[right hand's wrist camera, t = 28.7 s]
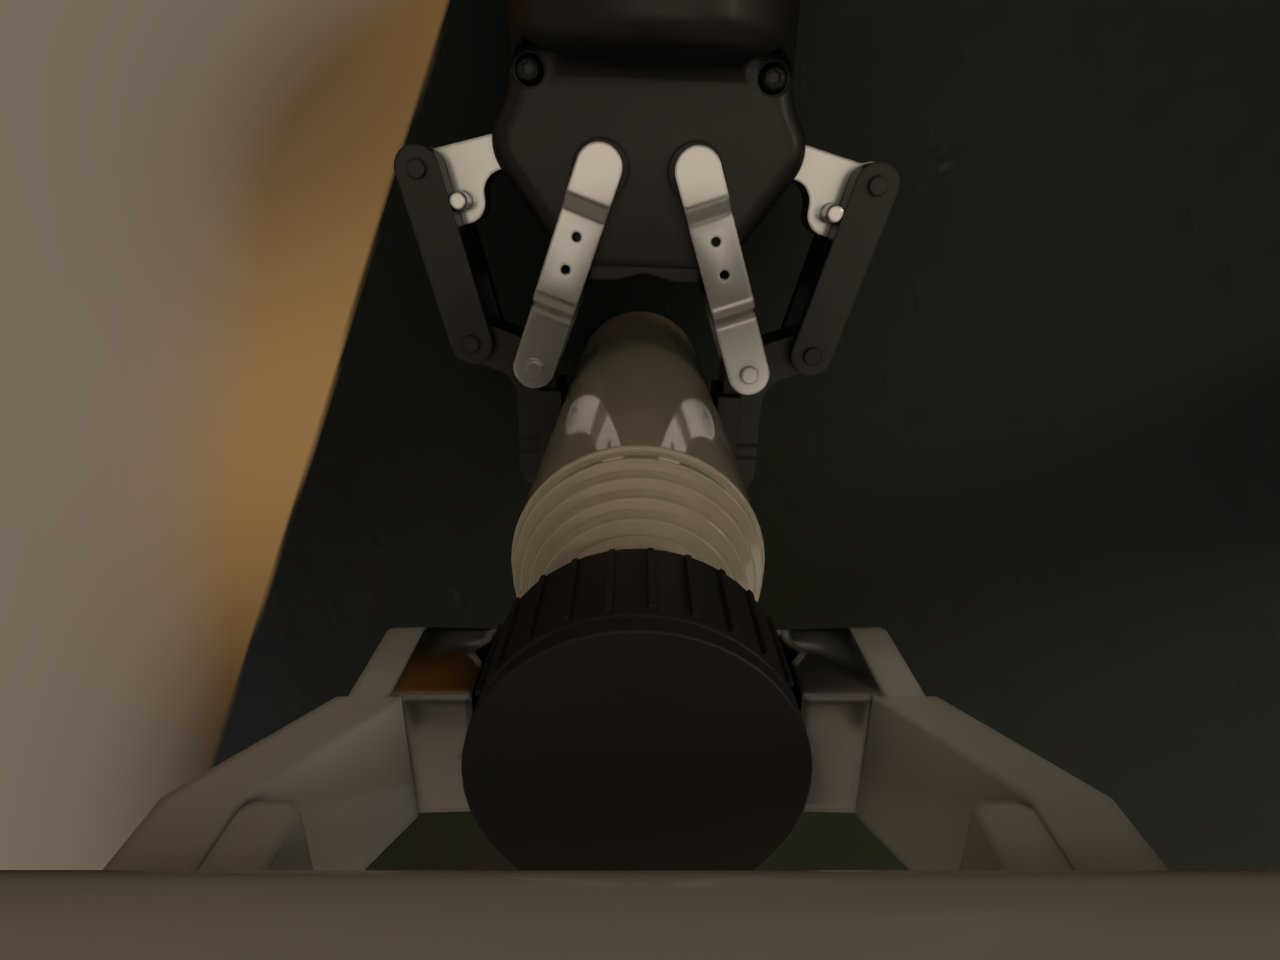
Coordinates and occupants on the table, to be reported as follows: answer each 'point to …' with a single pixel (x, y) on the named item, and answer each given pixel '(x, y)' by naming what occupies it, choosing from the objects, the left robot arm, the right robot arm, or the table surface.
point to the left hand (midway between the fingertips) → (637, 493)
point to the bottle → (638, 463)
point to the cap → (636, 722)
